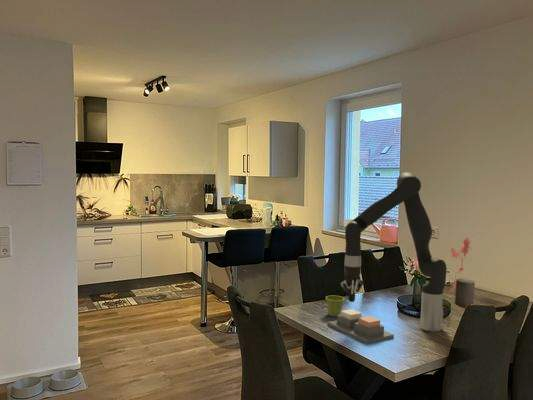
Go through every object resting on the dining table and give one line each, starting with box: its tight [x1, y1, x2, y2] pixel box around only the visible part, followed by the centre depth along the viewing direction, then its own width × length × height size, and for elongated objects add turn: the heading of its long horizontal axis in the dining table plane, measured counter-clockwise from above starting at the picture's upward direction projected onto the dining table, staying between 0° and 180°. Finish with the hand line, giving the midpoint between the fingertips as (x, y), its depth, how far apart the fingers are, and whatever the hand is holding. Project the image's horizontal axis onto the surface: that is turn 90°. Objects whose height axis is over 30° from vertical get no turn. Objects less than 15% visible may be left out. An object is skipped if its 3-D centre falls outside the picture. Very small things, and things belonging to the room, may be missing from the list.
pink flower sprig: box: [446, 236, 473, 294], centre depth 274 cm, size 15×26×35 cm, turn 139°
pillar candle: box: [454, 277, 476, 307], centre depth 250 cm, size 10×10×15 cm
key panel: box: [327, 314, 395, 345], centre depth 202 cm, size 16×26×5 cm, turn 30°
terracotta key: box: [358, 315, 381, 328], centre depth 197 cm, size 7×7×3 cm
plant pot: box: [325, 294, 345, 317], centre depth 225 cm, size 9×9×9 cm
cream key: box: [340, 309, 362, 320], centre depth 207 cm, size 7×7×3 cm
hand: (351, 301), depth 207 cm, fingers closed
